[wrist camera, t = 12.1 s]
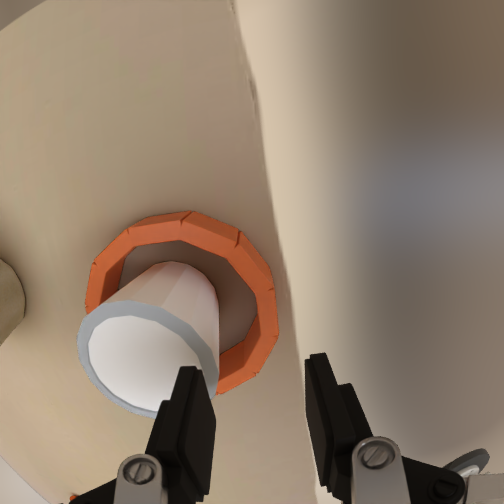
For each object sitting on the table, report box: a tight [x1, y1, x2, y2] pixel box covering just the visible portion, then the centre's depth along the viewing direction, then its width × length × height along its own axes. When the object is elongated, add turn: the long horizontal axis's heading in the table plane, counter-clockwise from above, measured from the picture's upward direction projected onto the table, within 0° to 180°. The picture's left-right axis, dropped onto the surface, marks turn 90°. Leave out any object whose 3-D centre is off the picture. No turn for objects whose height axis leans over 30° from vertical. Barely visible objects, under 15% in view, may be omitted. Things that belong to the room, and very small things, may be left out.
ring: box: [85, 211, 279, 395], centre depth 17 cm, size 11×11×3 cm
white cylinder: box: [77, 261, 219, 419], centre depth 15 cm, size 7×7×7 cm
